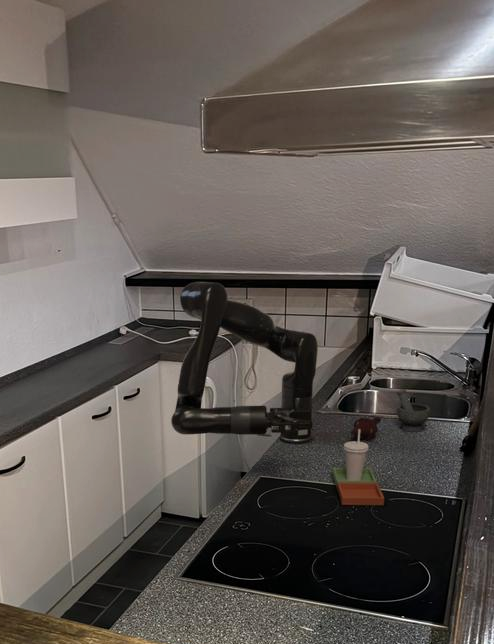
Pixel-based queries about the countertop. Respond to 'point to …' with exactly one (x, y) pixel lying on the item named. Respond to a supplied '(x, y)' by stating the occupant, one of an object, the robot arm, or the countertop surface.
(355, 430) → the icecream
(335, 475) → the green tray
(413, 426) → the mortar and pestle
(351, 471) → the smoothie
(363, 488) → the terracotta tray
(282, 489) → the countertop surface
